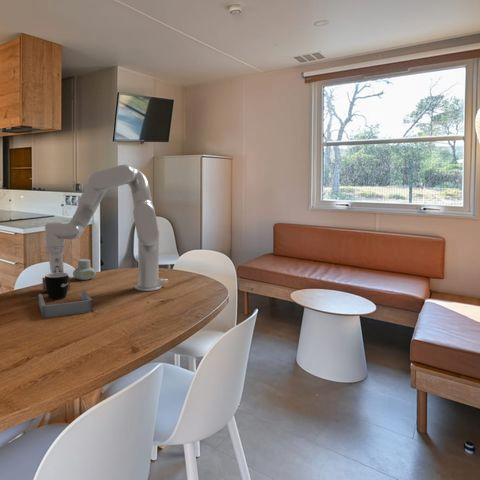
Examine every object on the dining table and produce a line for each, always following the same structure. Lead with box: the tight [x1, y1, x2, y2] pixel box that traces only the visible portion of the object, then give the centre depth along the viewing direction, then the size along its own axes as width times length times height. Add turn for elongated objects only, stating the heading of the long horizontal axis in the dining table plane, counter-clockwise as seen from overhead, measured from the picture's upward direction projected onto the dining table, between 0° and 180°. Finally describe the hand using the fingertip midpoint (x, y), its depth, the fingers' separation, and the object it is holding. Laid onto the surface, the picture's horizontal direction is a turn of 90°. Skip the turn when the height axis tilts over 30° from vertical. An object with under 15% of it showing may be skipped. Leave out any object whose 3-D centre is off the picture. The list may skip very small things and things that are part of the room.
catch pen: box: [38, 289, 94, 319], centre depth 150 cm, size 17×17×4 cm
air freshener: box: [72, 258, 97, 281], centre depth 194 cm, size 11×8×10 cm
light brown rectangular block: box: [41, 274, 71, 292], centre depth 173 cm, size 11×4×6 cm, turn 122°
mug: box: [44, 272, 69, 301], centre depth 164 cm, size 12×9×10 cm
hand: (56, 288), depth 173 cm, fingers closed on light brown rectangular block, 3 cm apart
